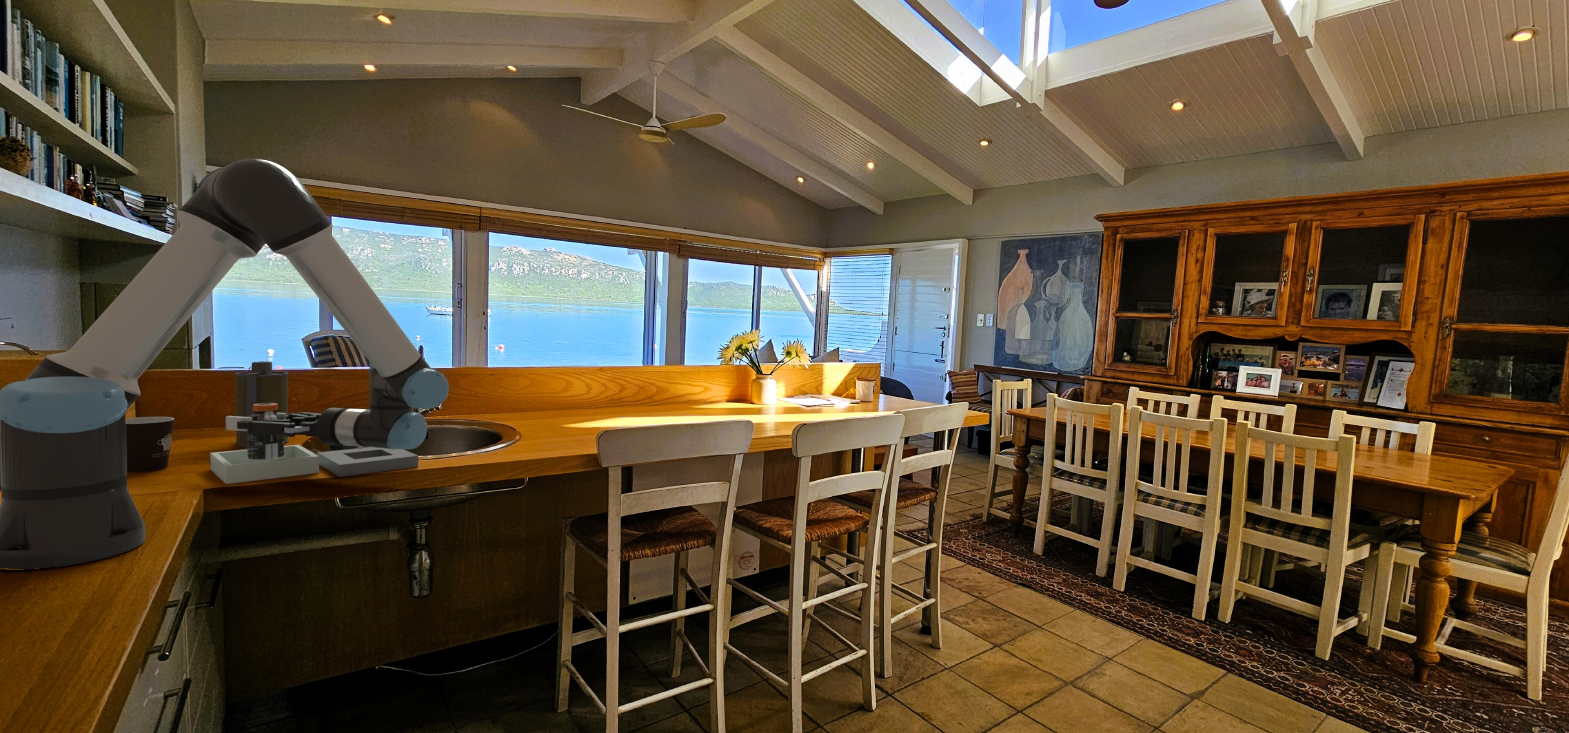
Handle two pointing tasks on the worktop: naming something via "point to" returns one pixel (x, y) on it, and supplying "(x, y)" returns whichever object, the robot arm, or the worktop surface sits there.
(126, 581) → the worktop surface
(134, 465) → the coffee mug
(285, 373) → the canister
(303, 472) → the parts tray
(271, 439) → the pill bottle
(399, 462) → the socket block
